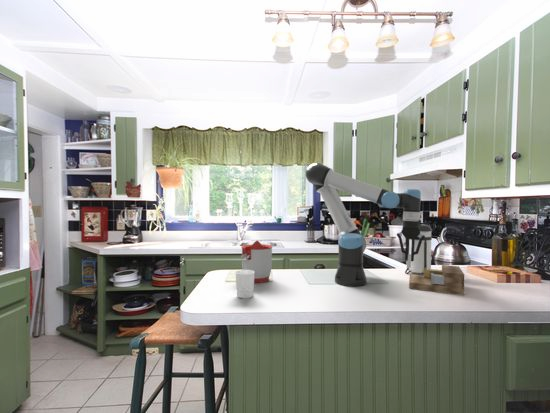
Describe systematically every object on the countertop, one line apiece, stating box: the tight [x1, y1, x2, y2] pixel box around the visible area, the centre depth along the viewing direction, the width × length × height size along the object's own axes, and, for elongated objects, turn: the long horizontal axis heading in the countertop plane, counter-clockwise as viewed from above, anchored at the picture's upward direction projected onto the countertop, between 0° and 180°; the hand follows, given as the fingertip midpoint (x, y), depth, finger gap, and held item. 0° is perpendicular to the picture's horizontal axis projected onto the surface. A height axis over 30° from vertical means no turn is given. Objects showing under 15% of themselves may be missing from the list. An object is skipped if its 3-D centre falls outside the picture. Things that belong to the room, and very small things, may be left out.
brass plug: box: [422, 268, 443, 278], centre depth 134 cm, size 11×4×4 cm, turn 63°
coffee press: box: [404, 219, 433, 275], centre depth 156 cm, size 17×16×30 cm
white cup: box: [235, 269, 255, 299], centre depth 116 cm, size 8×8×10 cm
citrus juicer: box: [240, 240, 273, 284], centre depth 140 cm, size 16×17×20 cm
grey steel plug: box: [431, 273, 445, 285], centre depth 123 cm, size 11×4×4 cm, turn 63°
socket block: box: [408, 264, 465, 296], centre depth 130 cm, size 21×17×9 cm
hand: (409, 267), depth 139 cm, fingers closed
